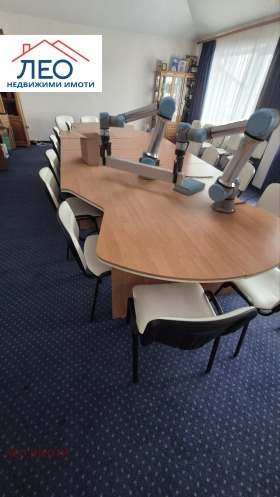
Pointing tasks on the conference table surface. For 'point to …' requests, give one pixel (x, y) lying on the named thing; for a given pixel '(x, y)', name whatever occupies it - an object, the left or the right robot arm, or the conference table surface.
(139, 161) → the laser sight
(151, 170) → the beam
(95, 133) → the box
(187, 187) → the book
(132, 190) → the conference table surface
